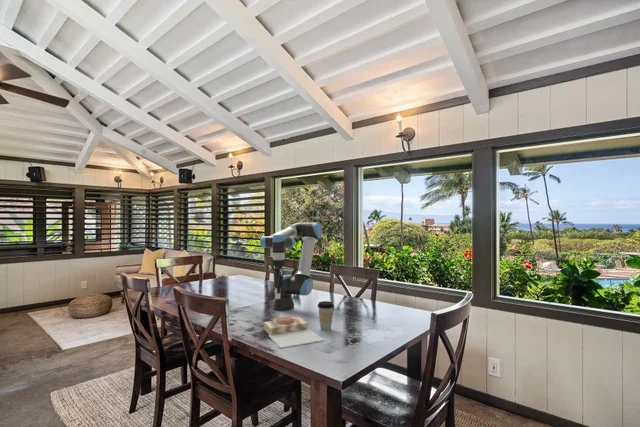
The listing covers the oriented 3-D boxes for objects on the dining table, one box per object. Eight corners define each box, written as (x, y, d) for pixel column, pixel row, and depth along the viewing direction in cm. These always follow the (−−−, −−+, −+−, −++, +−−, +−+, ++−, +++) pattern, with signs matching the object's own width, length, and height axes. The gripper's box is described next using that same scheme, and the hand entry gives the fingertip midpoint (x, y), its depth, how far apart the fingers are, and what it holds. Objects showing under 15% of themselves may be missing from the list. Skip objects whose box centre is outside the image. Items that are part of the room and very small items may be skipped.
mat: (309, 329, 184) (309, 328, 184) (324, 340, 168) (324, 339, 168) (268, 336, 174) (268, 335, 174) (280, 348, 157) (280, 347, 157)
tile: (290, 319, 190) (290, 316, 190) (294, 322, 185) (294, 318, 185) (275, 321, 186) (275, 318, 186) (279, 324, 181) (279, 320, 181)
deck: (299, 324, 195) (299, 317, 195) (307, 330, 184) (307, 322, 184) (263, 329, 185) (263, 322, 185) (270, 335, 174) (270, 328, 174)
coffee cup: (336, 328, 188) (336, 302, 188) (328, 333, 179) (328, 305, 180) (322, 325, 192) (322, 300, 193) (314, 330, 184) (314, 303, 185)
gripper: (269, 258, 201) (268, 296, 200) (276, 260, 190) (275, 301, 189) (280, 258, 205) (280, 295, 204) (288, 260, 193) (287, 300, 192)
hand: (277, 298), depth 196 cm, fingers closed
